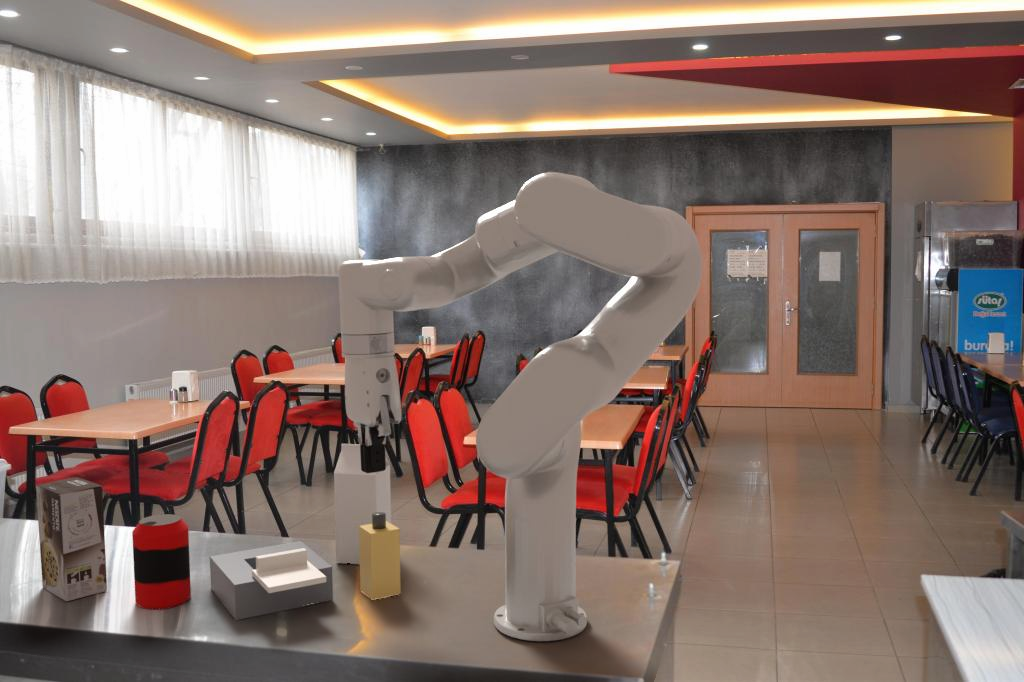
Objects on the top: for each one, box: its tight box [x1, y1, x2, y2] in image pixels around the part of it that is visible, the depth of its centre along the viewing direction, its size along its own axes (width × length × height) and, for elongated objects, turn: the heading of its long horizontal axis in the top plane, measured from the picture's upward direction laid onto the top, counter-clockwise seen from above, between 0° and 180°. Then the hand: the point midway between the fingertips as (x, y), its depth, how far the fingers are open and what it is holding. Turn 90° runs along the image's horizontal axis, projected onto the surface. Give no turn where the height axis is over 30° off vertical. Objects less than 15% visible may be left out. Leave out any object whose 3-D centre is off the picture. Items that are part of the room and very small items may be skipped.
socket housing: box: [209, 540, 334, 621], centre depth 138 cm, size 14×14×5 cm
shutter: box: [252, 548, 326, 593], centre depth 131 cm, size 8×8×3 cm
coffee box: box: [35, 476, 108, 602], centre depth 140 cm, size 9×6×16 cm
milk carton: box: [333, 443, 392, 565], centre depth 154 cm, size 7×7×19 cm
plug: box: [359, 512, 402, 599], centre depth 139 cm, size 4×4×12 cm
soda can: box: [131, 513, 192, 610], centre depth 136 cm, size 8×8×12 cm
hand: (373, 470), depth 137 cm, fingers closed
